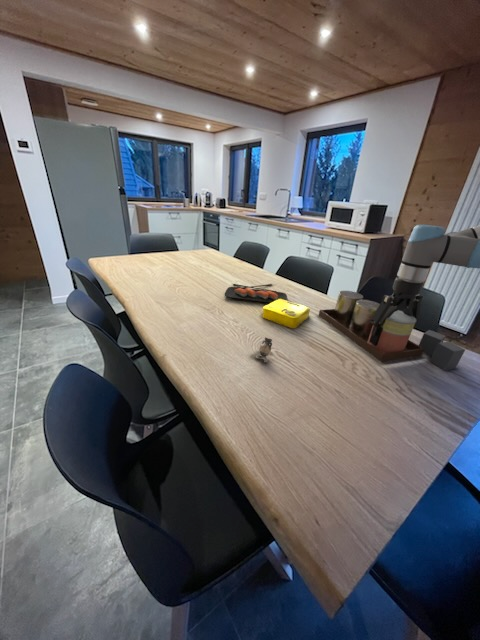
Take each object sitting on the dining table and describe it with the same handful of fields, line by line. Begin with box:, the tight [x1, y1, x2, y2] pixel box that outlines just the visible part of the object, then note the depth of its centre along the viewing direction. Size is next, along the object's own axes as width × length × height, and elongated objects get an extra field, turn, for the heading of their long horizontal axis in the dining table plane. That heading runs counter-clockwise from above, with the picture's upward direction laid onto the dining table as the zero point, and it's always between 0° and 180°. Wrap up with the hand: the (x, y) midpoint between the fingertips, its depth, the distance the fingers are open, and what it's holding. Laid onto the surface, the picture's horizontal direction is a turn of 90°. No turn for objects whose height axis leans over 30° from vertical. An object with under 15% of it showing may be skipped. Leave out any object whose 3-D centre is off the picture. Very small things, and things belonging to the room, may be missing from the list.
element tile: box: [261, 299, 311, 329], centre depth 107 cm, size 15×15×5 cm
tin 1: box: [333, 290, 364, 325], centre depth 106 cm, size 9×9×11 cm
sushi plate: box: [224, 283, 288, 304], centre depth 131 cm, size 29×30×4 cm
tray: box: [318, 308, 424, 363], centre depth 98 cm, size 34×17×3 cm, turn 18°
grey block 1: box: [418, 329, 447, 356], centre depth 89 cm, size 5×5×7 cm
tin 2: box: [349, 299, 381, 337], centre depth 97 cm, size 9×9×11 cm
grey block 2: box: [429, 341, 466, 371], centre depth 82 cm, size 5×5×7 cm
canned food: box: [367, 309, 417, 354], centre depth 87 cm, size 11×11×12 cm
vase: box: [252, 337, 276, 363], centre depth 79 cm, size 5×5×6 cm
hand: (386, 341), depth 89 cm, fingers closed on canned food, 11 cm apart
